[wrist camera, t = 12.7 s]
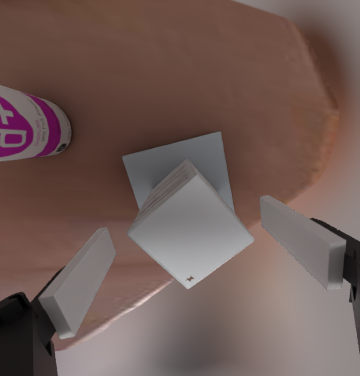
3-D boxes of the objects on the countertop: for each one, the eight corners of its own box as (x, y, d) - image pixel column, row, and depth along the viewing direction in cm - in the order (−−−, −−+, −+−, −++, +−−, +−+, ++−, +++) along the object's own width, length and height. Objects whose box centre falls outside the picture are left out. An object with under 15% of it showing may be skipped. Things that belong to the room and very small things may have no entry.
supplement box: (219, 193, 25) (259, 242, 13) (181, 223, 26) (186, 294, 14) (187, 155, 24) (198, 171, 12) (149, 189, 25) (122, 236, 13)
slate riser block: (130, 153, 28) (121, 156, 24) (212, 132, 28) (220, 131, 23) (154, 227, 32) (150, 242, 27) (227, 209, 31) (236, 222, 27)
